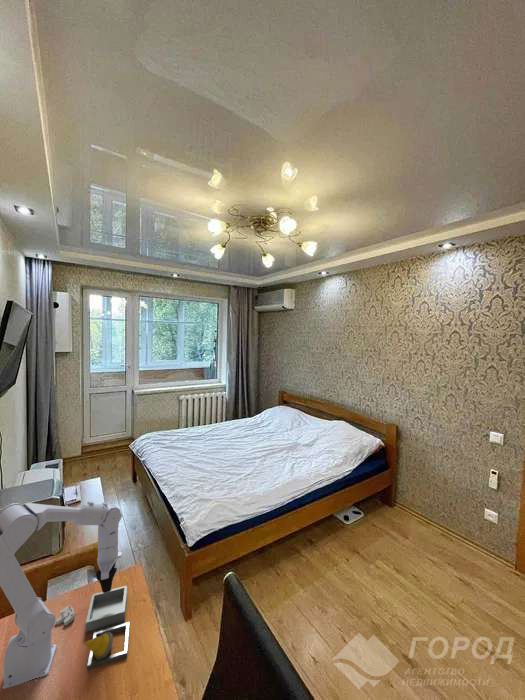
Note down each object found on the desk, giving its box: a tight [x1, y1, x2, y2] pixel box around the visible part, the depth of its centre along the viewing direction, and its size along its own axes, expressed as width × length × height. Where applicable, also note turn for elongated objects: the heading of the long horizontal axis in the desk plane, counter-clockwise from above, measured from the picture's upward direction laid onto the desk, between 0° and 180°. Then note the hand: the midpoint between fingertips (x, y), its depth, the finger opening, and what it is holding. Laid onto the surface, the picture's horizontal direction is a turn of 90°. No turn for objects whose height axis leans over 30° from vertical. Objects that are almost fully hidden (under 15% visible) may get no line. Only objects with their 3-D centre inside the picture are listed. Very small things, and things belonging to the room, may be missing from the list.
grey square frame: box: [86, 621, 130, 671], centre depth 83 cm, size 10×10×2 cm
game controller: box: [55, 603, 90, 626], centre depth 94 cm, size 6×12×3 cm, turn 155°
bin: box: [84, 584, 128, 634], centre depth 93 cm, size 11×11×4 cm
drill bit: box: [84, 632, 114, 660], centre depth 80 cm, size 5×5×10 cm
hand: (108, 584), depth 93 cm, fingers open, 5 cm apart
